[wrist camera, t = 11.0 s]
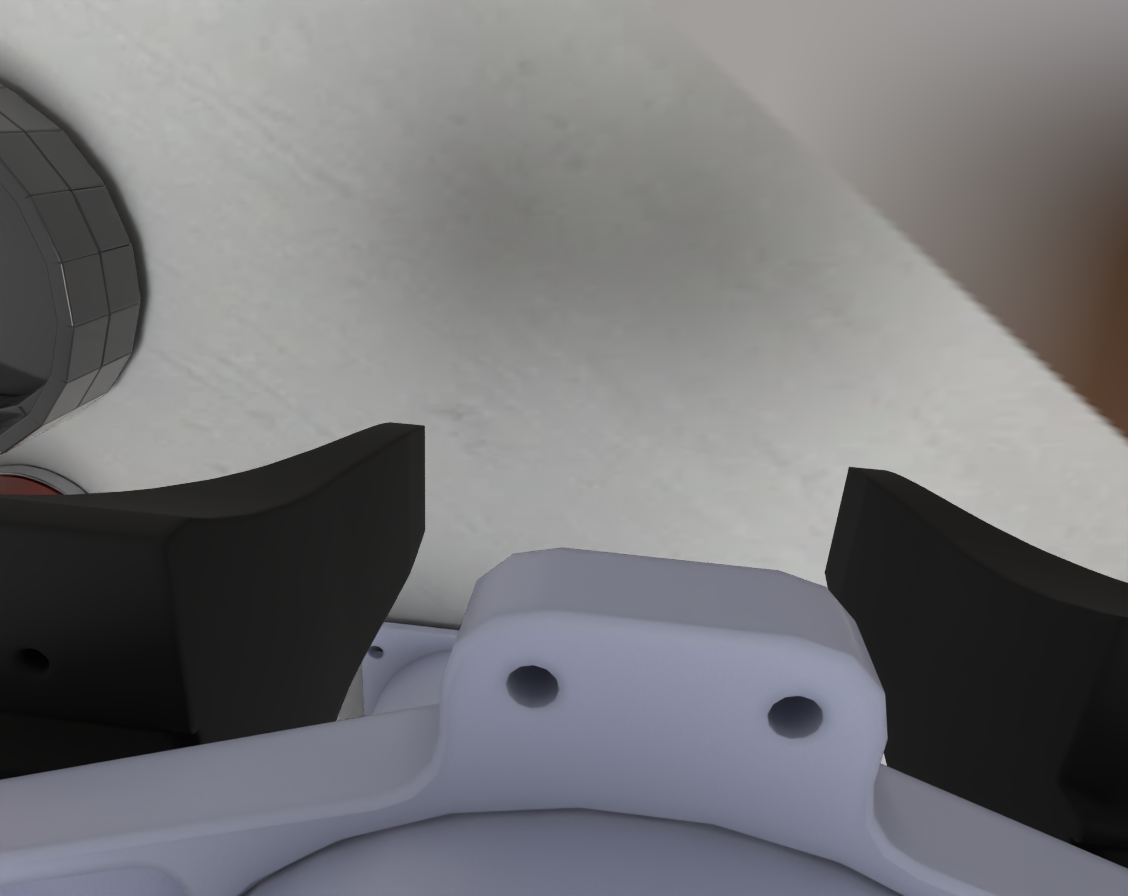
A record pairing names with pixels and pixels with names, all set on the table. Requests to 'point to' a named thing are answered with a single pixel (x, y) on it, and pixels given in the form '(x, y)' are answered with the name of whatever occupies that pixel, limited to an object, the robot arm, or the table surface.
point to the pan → (57, 278)
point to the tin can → (34, 482)
